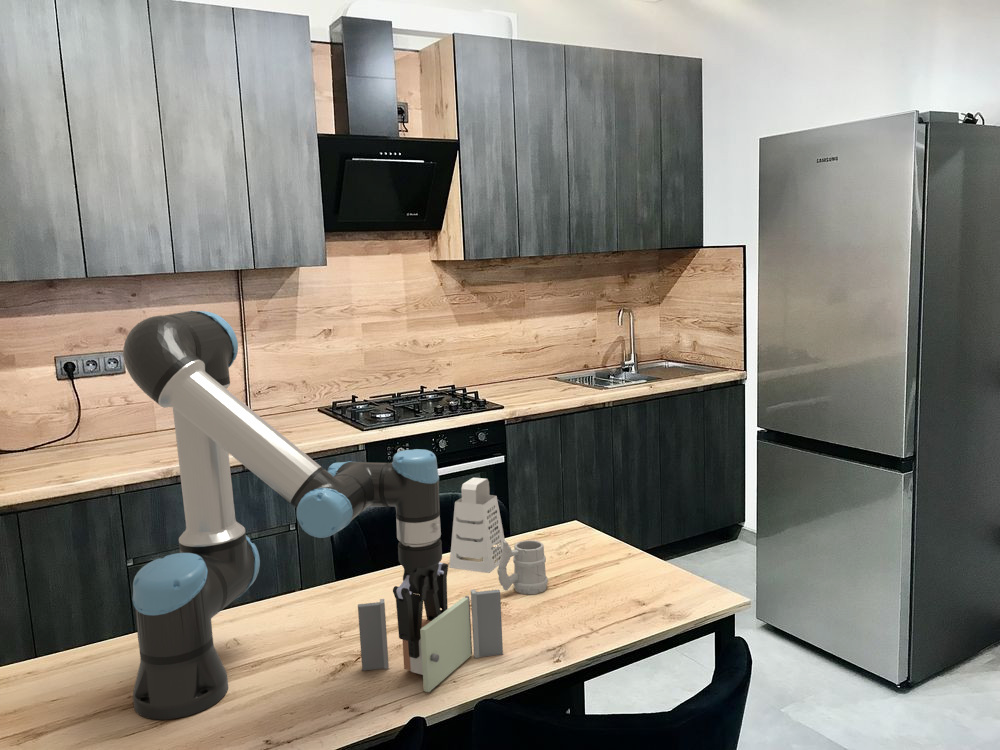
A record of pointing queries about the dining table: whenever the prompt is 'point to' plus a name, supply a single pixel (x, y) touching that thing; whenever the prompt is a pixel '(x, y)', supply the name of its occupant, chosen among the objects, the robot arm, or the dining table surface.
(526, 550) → the mug
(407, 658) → the orange brown rectangular block
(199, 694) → the robot arm
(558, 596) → the dining table surface
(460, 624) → the door
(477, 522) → the grater
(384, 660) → the frame
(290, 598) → the dining table surface
